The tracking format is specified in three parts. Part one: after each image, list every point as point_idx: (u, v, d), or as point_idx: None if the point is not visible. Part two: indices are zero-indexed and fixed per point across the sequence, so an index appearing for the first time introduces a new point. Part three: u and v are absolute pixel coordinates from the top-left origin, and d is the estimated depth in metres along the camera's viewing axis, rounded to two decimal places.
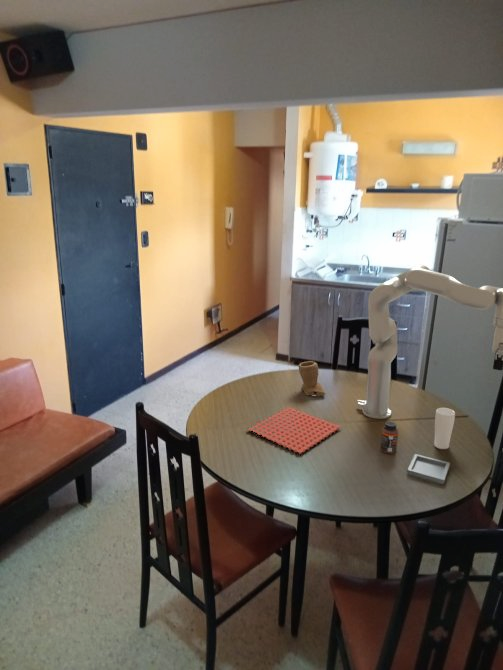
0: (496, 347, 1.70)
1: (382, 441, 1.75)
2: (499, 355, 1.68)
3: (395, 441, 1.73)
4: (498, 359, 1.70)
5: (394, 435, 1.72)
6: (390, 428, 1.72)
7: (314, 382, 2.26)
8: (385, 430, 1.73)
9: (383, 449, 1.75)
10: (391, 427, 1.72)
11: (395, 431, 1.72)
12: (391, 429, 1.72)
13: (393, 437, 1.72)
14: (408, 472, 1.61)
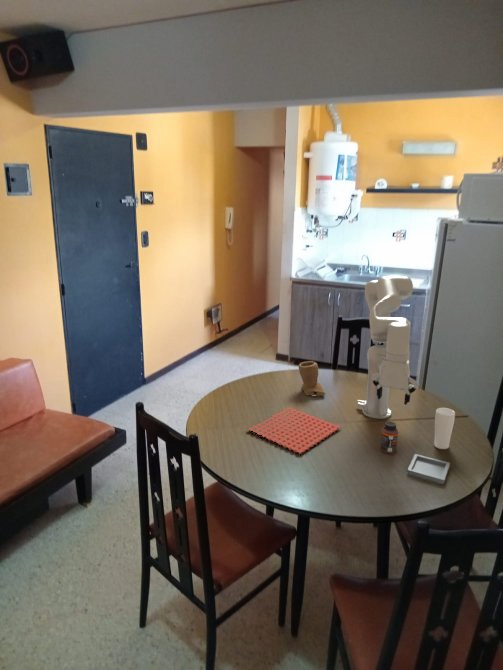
0: (407, 383, 1.65)
1: (382, 441, 1.75)
2: (416, 388, 1.65)
3: (395, 441, 1.73)
4: None
5: (394, 435, 1.72)
6: (390, 428, 1.72)
7: (314, 382, 2.26)
8: (385, 430, 1.73)
9: (383, 449, 1.75)
10: (391, 427, 1.72)
11: (395, 431, 1.72)
12: (391, 429, 1.72)
13: (393, 437, 1.72)
14: (408, 472, 1.61)
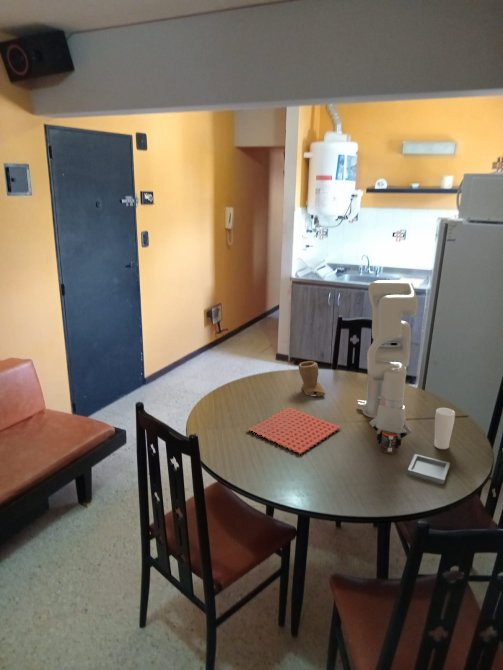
0: (402, 429, 1.70)
1: (382, 441, 1.75)
2: None
3: (395, 441, 1.73)
4: None
5: (394, 435, 1.72)
6: None
7: (314, 382, 2.26)
8: None
9: (383, 449, 1.75)
10: None
11: None
12: None
13: (393, 437, 1.72)
14: (408, 472, 1.61)
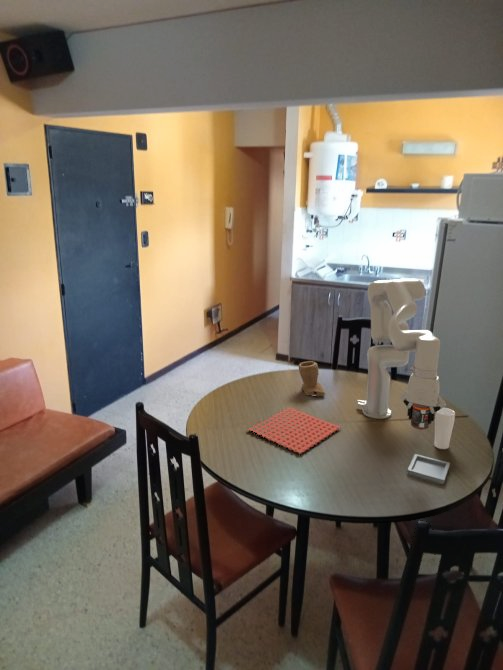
0: None
1: (413, 416, 1.61)
2: None
3: (428, 416, 1.59)
4: None
5: (426, 409, 1.58)
6: None
7: (314, 382, 2.26)
8: (417, 404, 1.59)
9: (414, 425, 1.61)
10: None
11: None
12: None
13: (426, 411, 1.58)
14: (408, 472, 1.61)
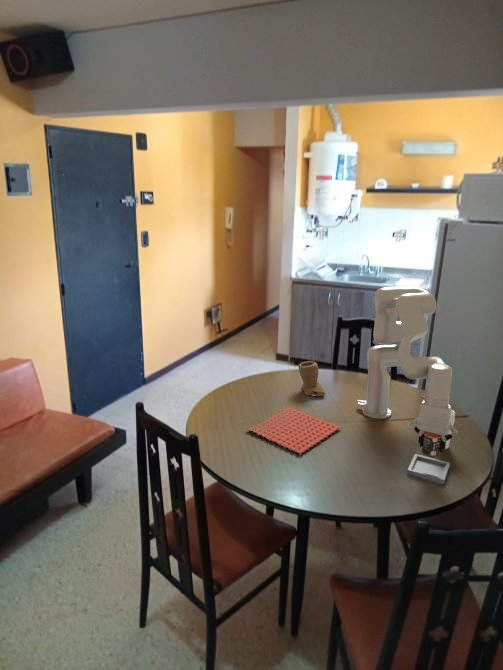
0: None
1: (424, 444, 1.59)
2: None
3: (439, 444, 1.57)
4: None
5: (438, 437, 1.56)
6: None
7: (314, 382, 2.26)
8: (428, 432, 1.57)
9: (425, 453, 1.59)
10: None
11: None
12: None
13: (437, 439, 1.56)
14: (408, 472, 1.61)
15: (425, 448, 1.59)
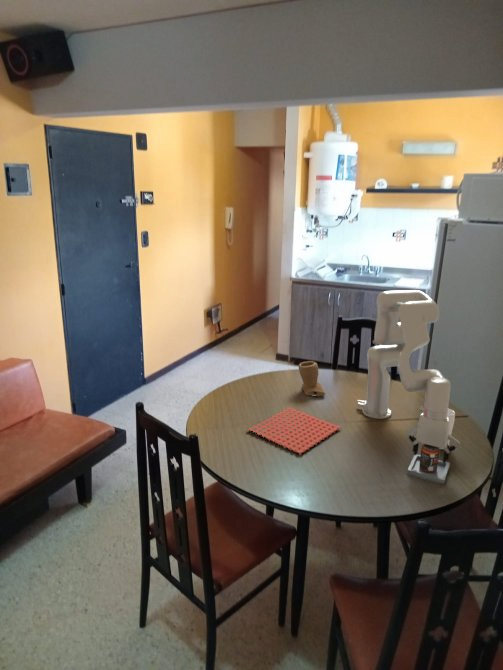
0: (447, 441, 1.56)
1: (422, 459, 1.61)
2: (456, 446, 1.56)
3: (437, 459, 1.60)
4: None
5: (436, 453, 1.58)
6: (431, 446, 1.59)
7: (314, 382, 2.26)
8: (426, 447, 1.60)
9: (423, 468, 1.61)
10: None
11: (437, 449, 1.59)
12: (432, 446, 1.59)
13: (435, 455, 1.58)
14: (408, 472, 1.61)
15: (423, 463, 1.61)
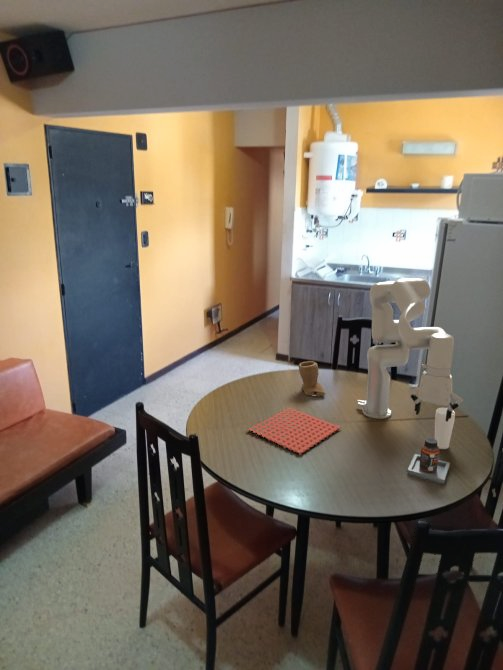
0: (450, 398, 1.53)
1: (422, 459, 1.61)
2: (459, 404, 1.53)
3: (436, 459, 1.60)
4: None
5: (435, 453, 1.58)
6: (431, 446, 1.59)
7: (314, 382, 2.26)
8: (425, 447, 1.60)
9: (423, 468, 1.61)
10: (432, 444, 1.58)
11: (437, 449, 1.59)
12: (432, 446, 1.59)
13: (434, 455, 1.58)
14: (408, 472, 1.61)
15: (423, 463, 1.61)
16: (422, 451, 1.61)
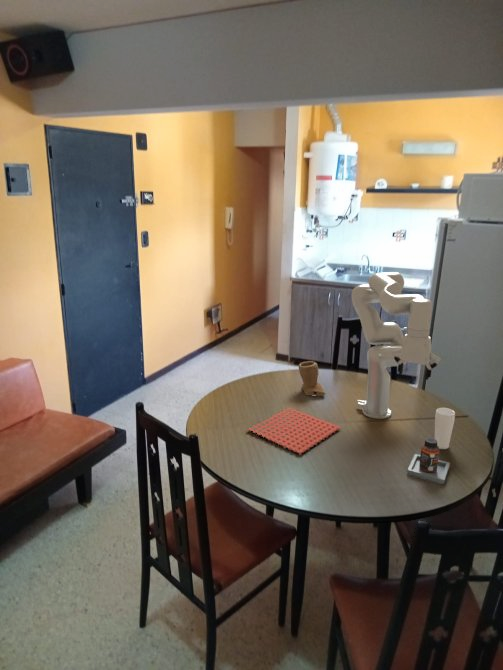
0: (429, 358, 1.67)
1: (422, 459, 1.61)
2: (437, 363, 1.68)
3: (436, 459, 1.60)
4: None
5: (435, 453, 1.58)
6: (431, 446, 1.59)
7: (314, 382, 2.26)
8: (425, 447, 1.60)
9: (423, 468, 1.61)
10: (432, 444, 1.58)
11: (437, 449, 1.59)
12: (432, 446, 1.59)
13: (434, 455, 1.59)
14: (408, 472, 1.61)
15: (423, 463, 1.61)
16: (422, 451, 1.61)
